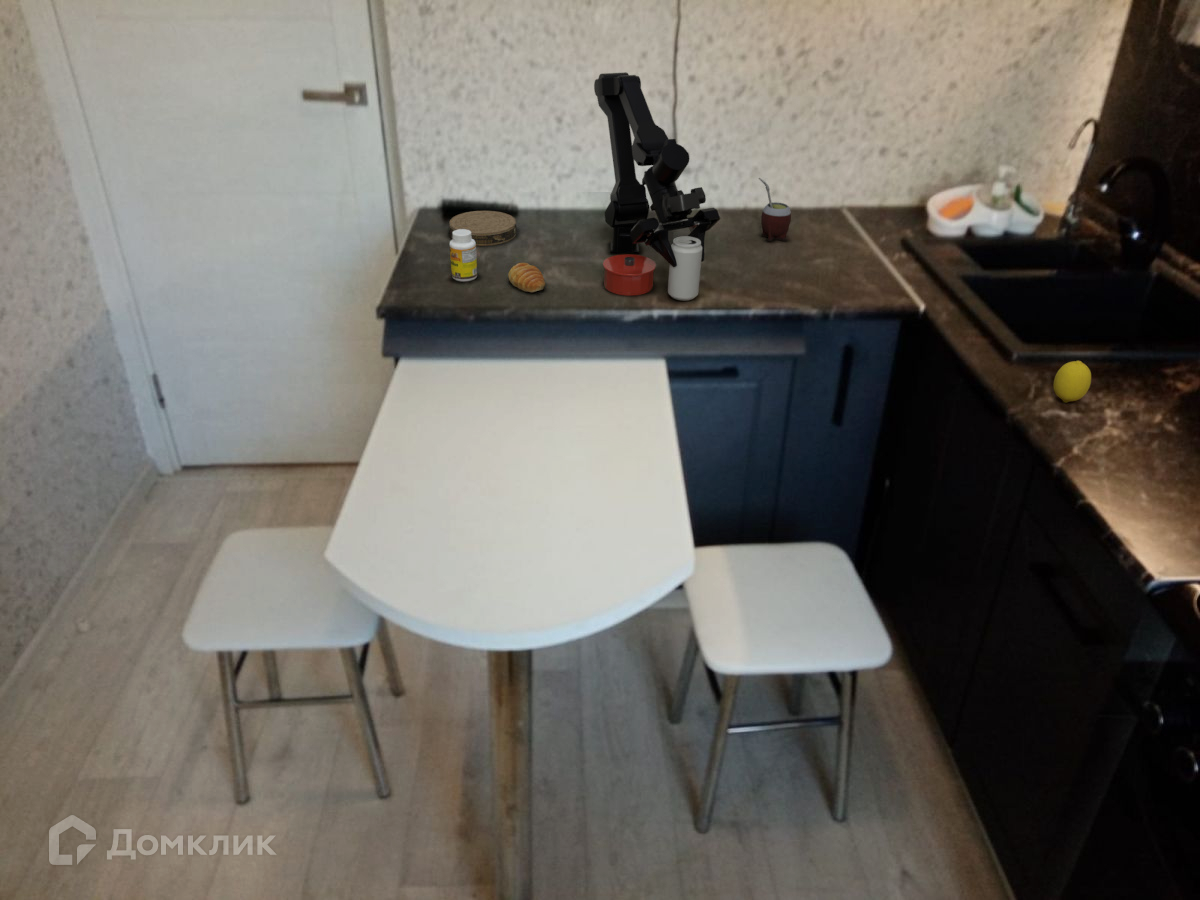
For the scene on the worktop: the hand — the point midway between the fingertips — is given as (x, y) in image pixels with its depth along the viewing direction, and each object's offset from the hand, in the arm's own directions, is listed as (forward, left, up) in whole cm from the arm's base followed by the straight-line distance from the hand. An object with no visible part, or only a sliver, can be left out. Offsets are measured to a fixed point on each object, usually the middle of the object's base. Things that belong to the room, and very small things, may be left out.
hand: (688, 263), depth 185 cm
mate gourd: (-38, +24, -8) cm, 46 cm away
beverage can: (-1, -1, -8) cm, 8 cm away
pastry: (-7, -33, -8) cm, 35 cm away
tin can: (-37, -46, -8) cm, 60 cm away
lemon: (+39, +63, -8) cm, 74 cm away
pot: (-8, -12, -8) cm, 16 cm away
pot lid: (-8, -12, -4) cm, 14 cm away
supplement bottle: (-10, -47, -8) cm, 49 cm away
